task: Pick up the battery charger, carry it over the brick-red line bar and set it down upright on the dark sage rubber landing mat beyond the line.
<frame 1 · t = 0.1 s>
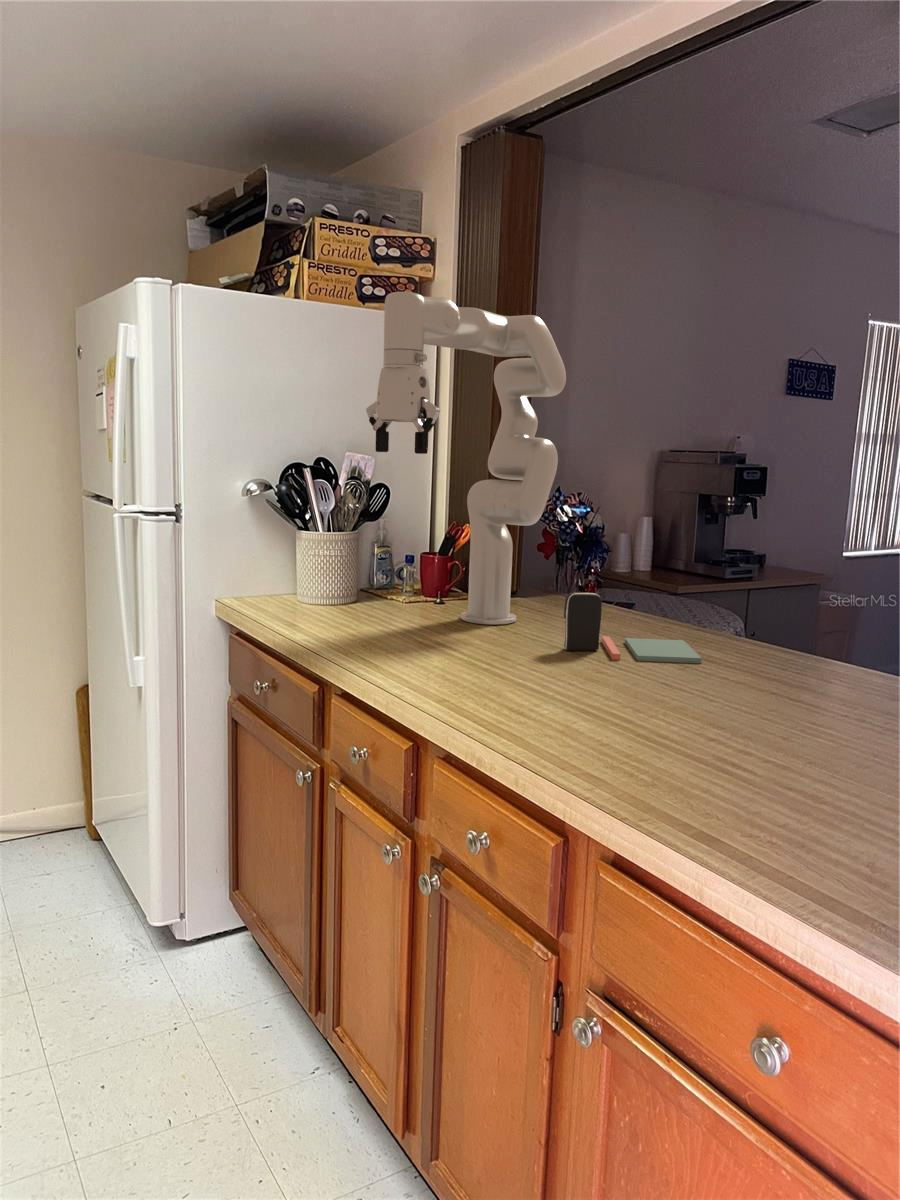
hand: (401, 452, 176), 37 cm above the counter, tool pointing down, fingers open, 9 cm apart
line bar: (610, 650, 181), on the counter
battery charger: (579, 650, 181), on the counter
landing mat: (661, 652, 181), on the counter
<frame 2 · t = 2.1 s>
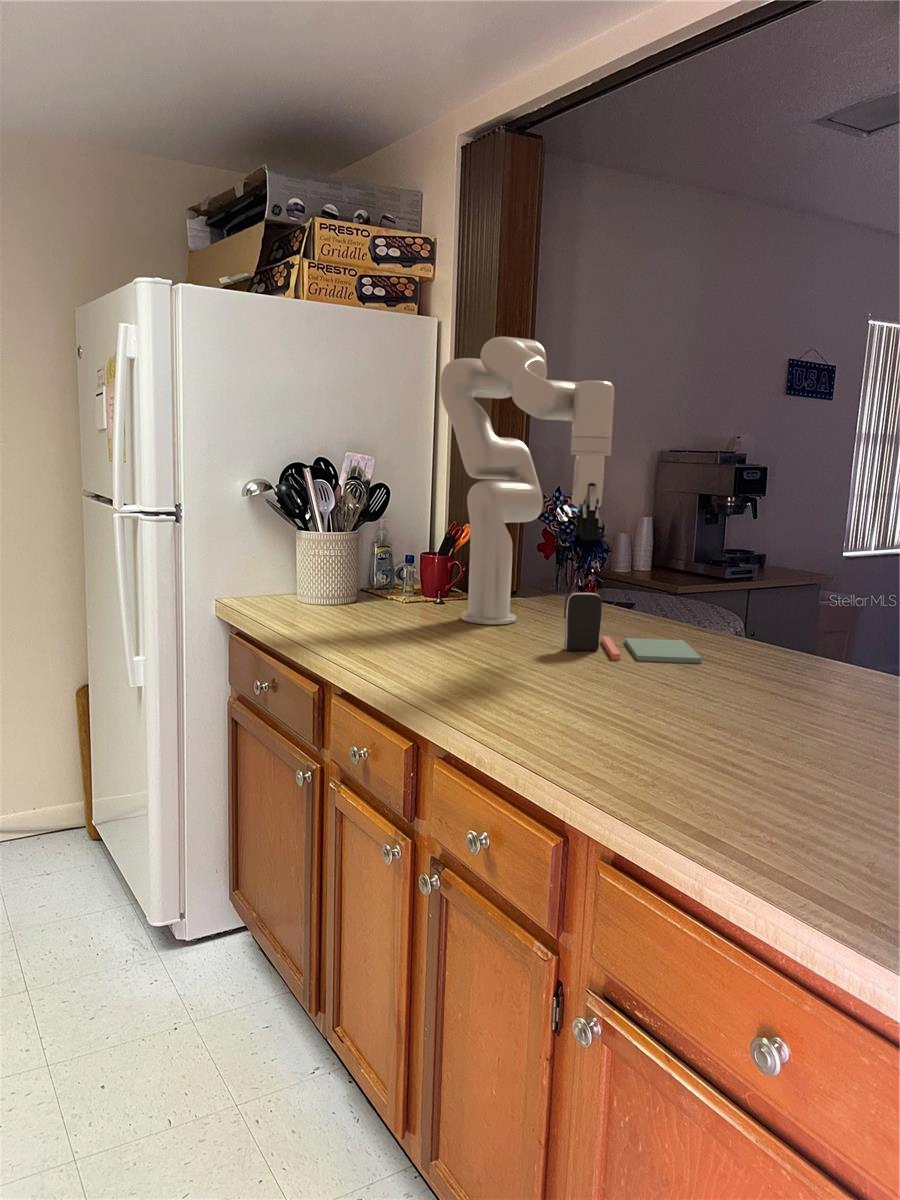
hand: (586, 536, 178), 22 cm above the counter, tool pointing down, fingers open, 9 cm apart
nothing on the counter moved.
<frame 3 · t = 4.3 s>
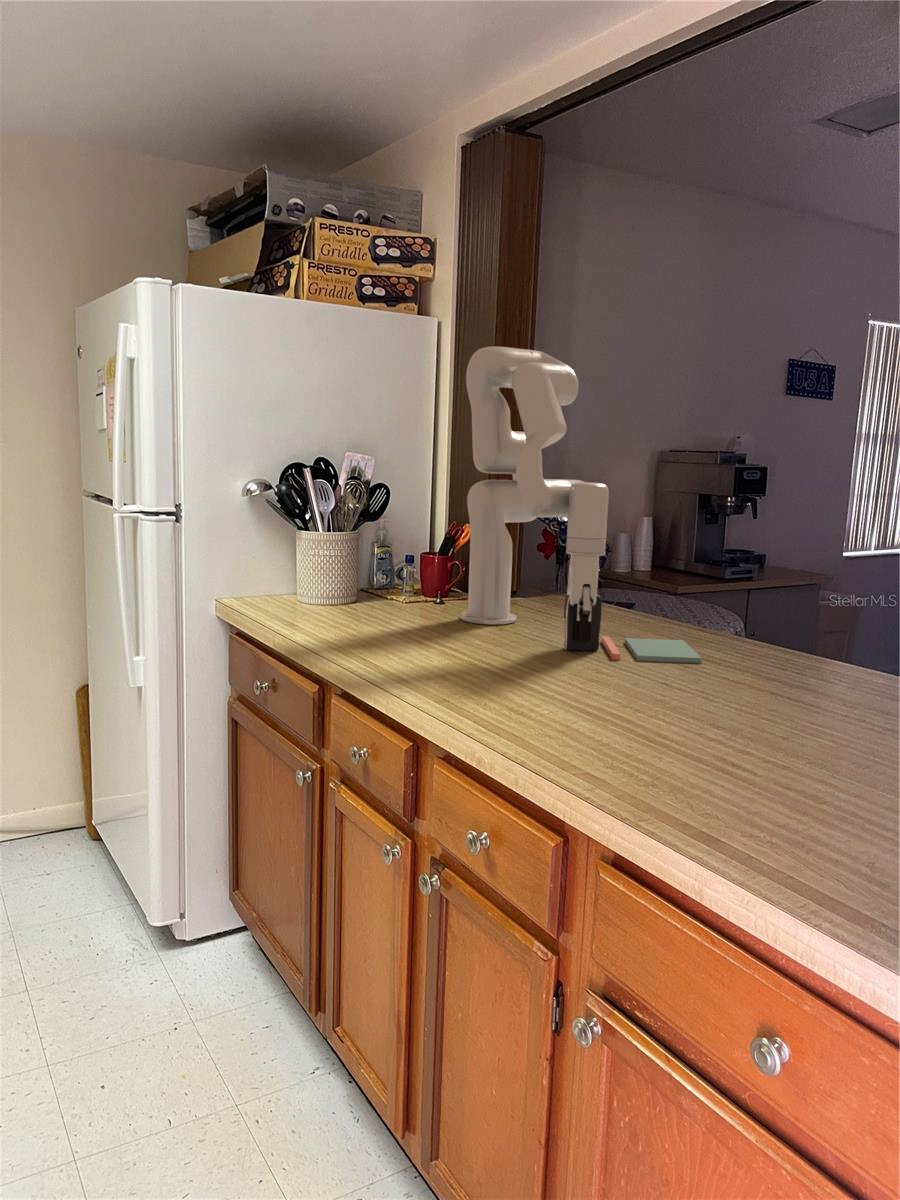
hand: (580, 637, 181), 2 cm above the counter, tool pointing down, fingers closed on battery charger, 4 cm apart
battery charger: (579, 650, 181), on the counter, touching gripper
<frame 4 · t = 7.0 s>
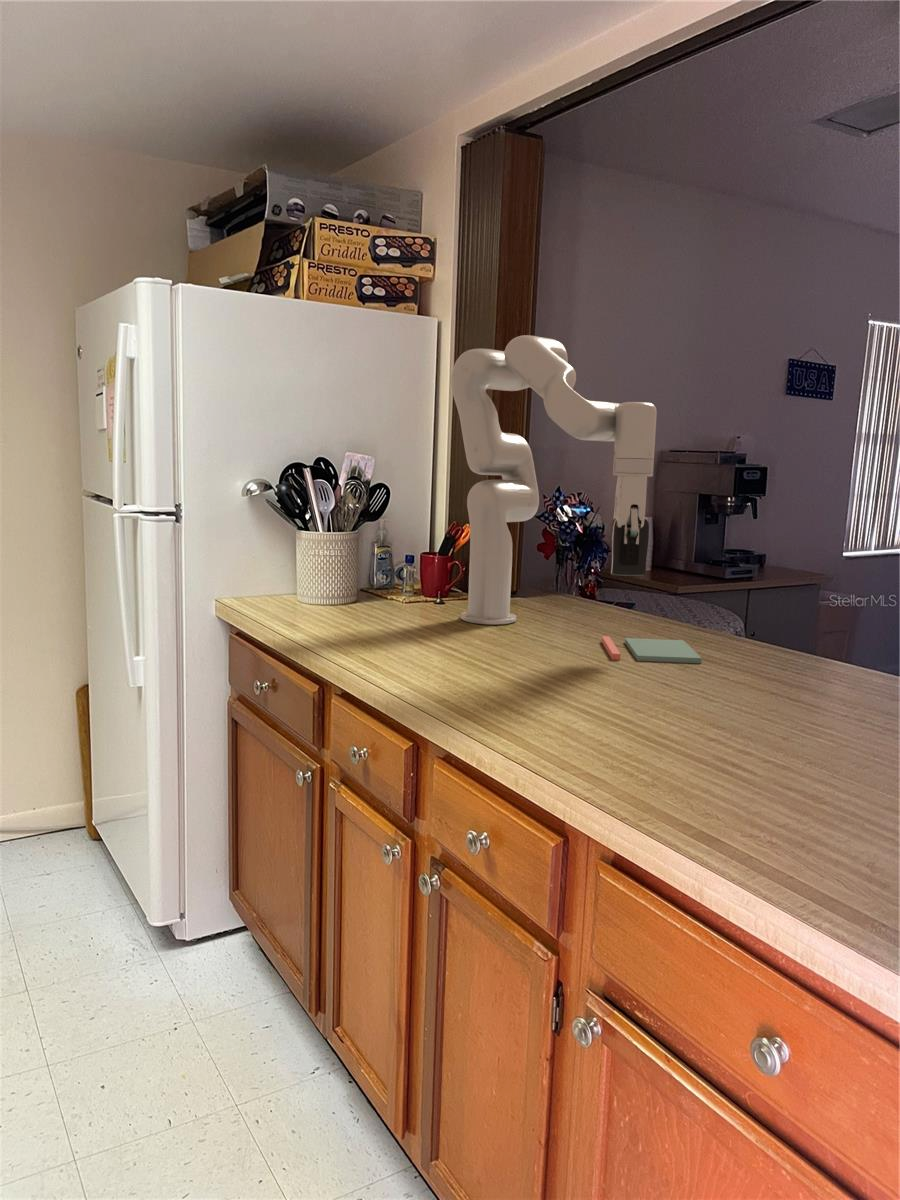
hand: (627, 562, 178), 18 cm above the counter, tool pointing down, fingers closed on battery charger, 4 cm apart
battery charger: (626, 575, 179), point 15 cm above the counter, touching gripper
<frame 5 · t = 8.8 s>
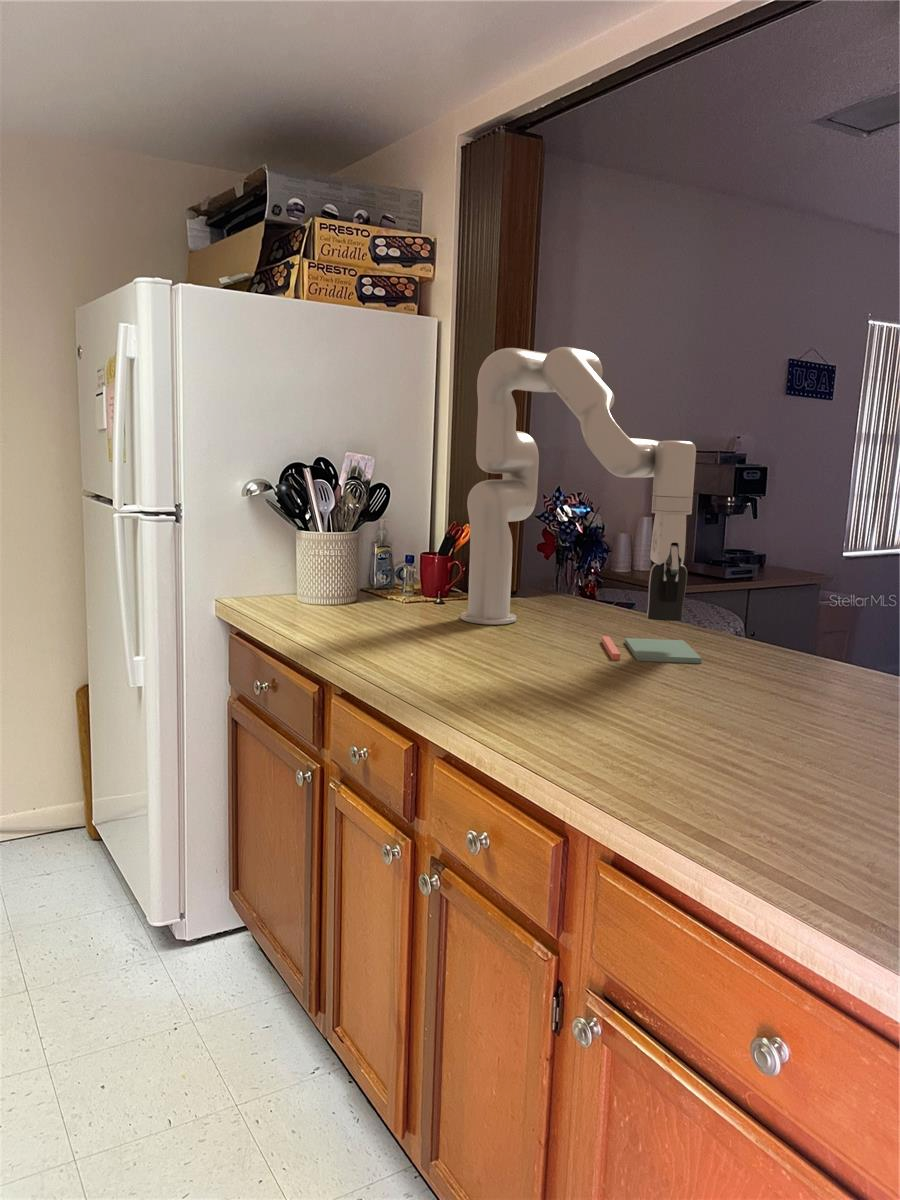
hand: (665, 598, 179), 11 cm above the counter, tool pointing down, fingers closed on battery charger, 4 cm apart
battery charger: (663, 619, 181), point 6 cm above the counter, touching gripper
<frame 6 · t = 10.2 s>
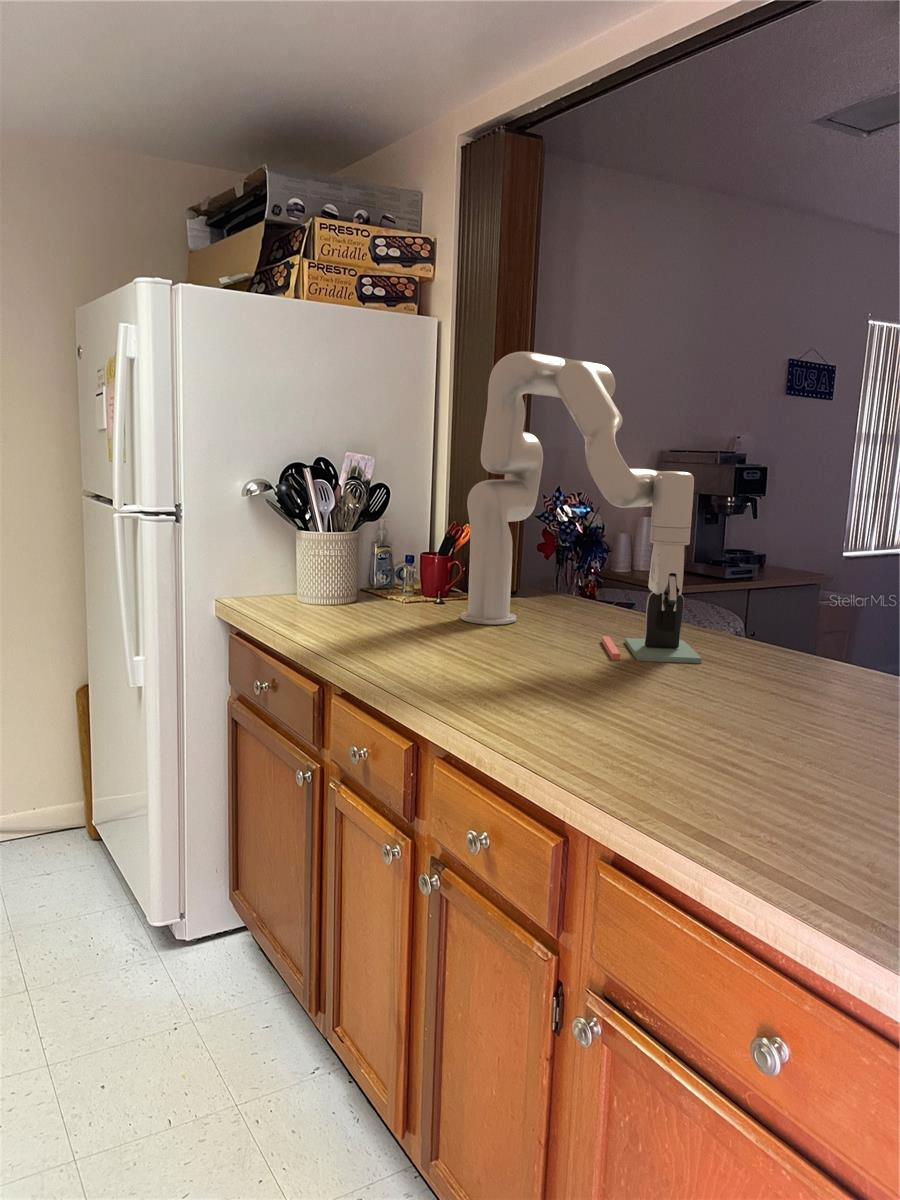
hand: (663, 627, 180), 5 cm above the counter, tool pointing down, fingers closed on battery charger, 4 cm apart
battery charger: (660, 646, 182), point 1 cm above the counter, touching gripper, landing mat
when the fingers open (5 cm above the counter, at t = 10.2 s): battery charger stays where it is, resting on landing mat.
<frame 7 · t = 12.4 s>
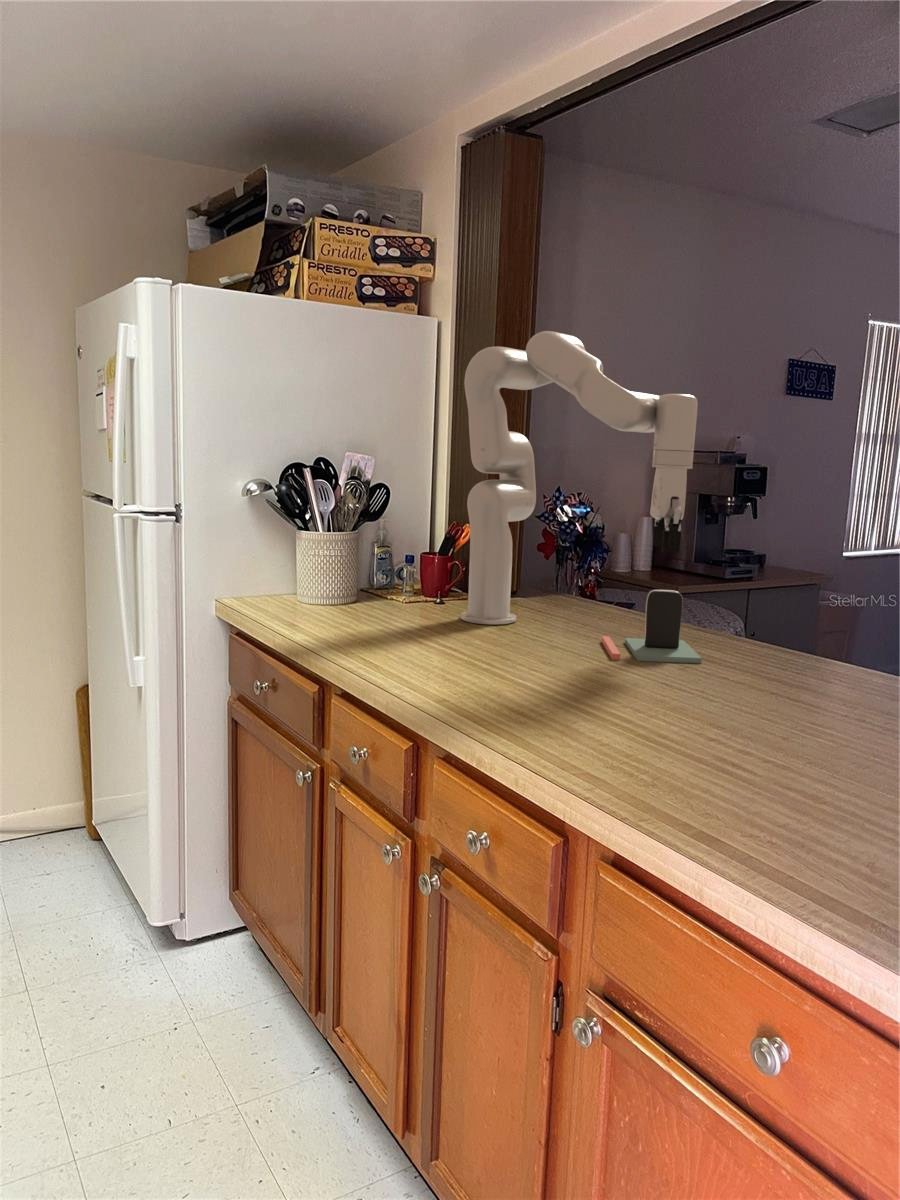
hand: (665, 549, 178), 20 cm above the counter, tool pointing down, fingers open, 9 cm apart
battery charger: (660, 647, 182), point 1 cm above the counter, touching landing mat
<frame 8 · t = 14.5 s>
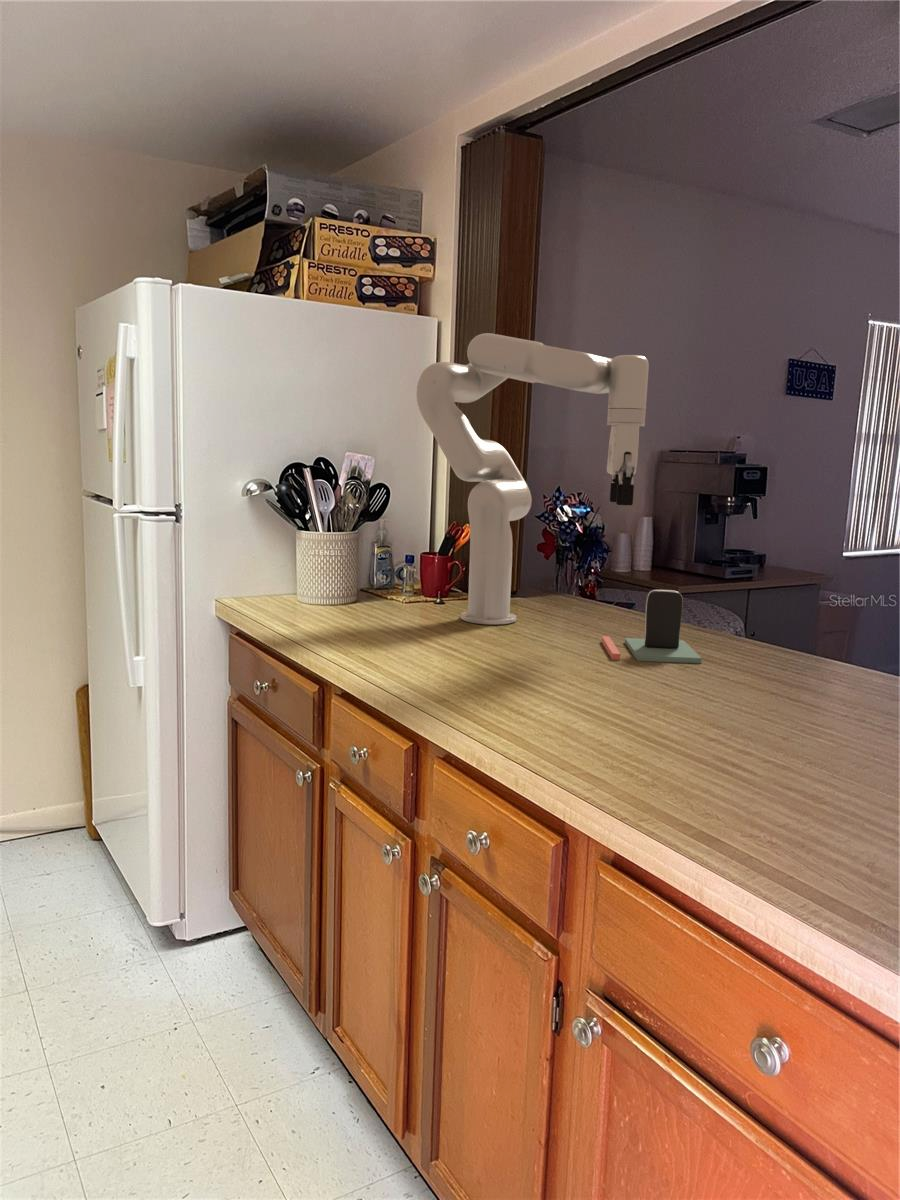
hand: (620, 503, 188), 28 cm above the counter, tool pointing down, fingers open, 9 cm apart
nothing on the counter moved.
at the end: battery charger inside the target area (0.9 cm from its centre), point 0.8 cm above the counter; the gripper is holding nothing; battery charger tilted 0° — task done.
